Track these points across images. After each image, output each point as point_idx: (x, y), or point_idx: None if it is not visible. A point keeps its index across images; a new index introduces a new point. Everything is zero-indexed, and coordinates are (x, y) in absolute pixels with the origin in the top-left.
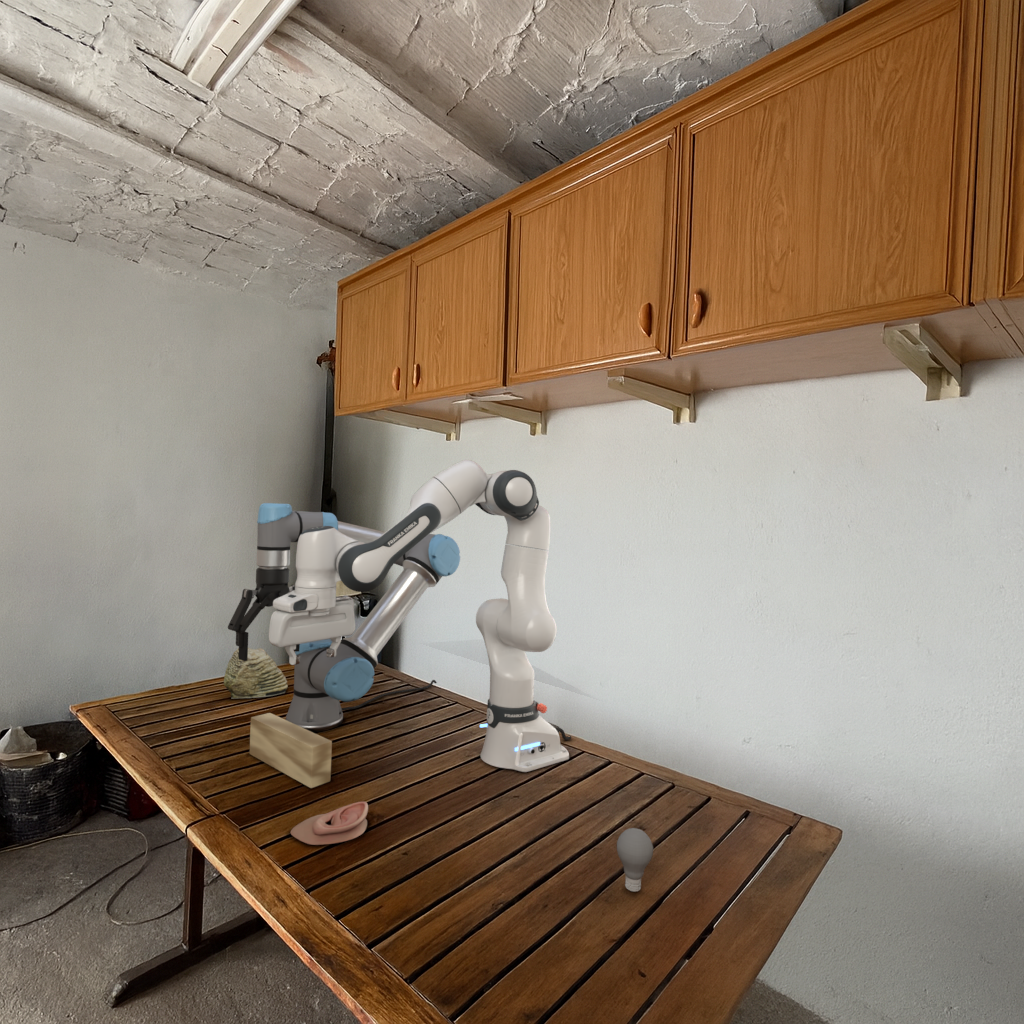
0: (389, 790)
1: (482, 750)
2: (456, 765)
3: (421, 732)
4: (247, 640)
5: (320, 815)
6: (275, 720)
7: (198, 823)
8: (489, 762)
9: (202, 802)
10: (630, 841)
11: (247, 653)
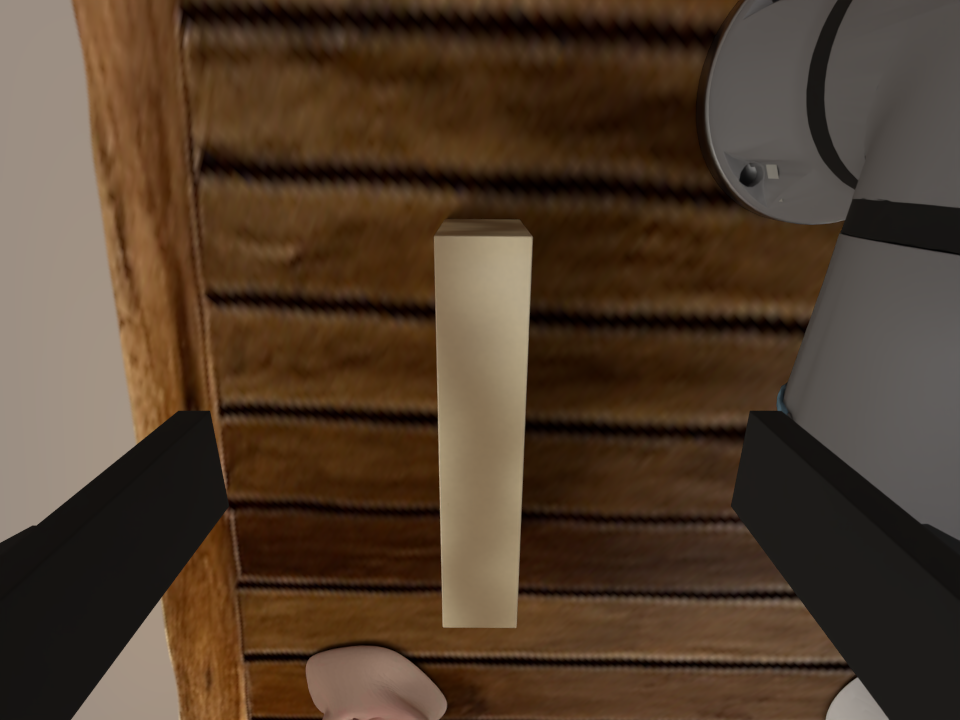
0: (573, 651)
1: None
2: (782, 662)
3: None
4: (97, 671)
5: (365, 688)
6: (492, 347)
7: None
8: (832, 713)
9: None
10: None
11: (194, 550)
